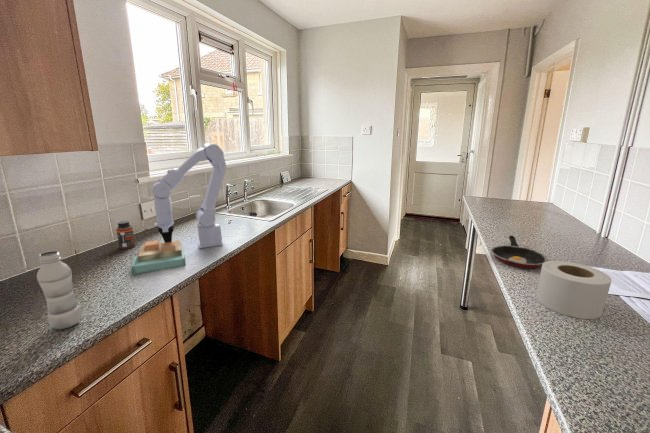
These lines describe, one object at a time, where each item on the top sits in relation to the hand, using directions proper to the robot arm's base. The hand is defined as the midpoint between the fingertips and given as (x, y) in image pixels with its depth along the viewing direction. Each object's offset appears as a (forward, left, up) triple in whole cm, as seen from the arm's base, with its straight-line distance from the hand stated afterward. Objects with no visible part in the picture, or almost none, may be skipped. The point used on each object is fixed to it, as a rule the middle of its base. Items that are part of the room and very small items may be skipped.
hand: (168, 243), depth 126 cm
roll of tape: (-106, +95, -4) cm, 142 cm away
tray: (+3, +13, -3) cm, 14 cm away
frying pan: (-128, +65, -4) cm, 143 cm away
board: (+3, 0, -3) cm, 5 cm away
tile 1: (+6, -1, 0) cm, 6 cm away
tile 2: (0, +3, 0) cm, 4 cm away
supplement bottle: (+16, -14, -4) cm, 22 cm away
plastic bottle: (+23, +44, -4) cm, 50 cm away
